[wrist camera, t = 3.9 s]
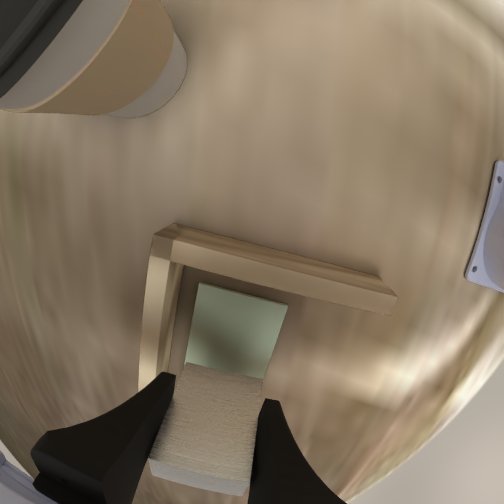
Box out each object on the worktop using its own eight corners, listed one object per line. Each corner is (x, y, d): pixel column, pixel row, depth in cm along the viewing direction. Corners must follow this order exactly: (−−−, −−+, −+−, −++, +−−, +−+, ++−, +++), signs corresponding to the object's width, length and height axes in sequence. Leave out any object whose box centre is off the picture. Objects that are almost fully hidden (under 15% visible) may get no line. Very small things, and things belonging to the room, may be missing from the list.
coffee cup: (98, 27, 15) (-40, -50, 1) (212, 13, 15) (128, -150, 1) (77, 137, 18) (-108, 135, 3) (194, 135, 17) (-4, 68, 3)
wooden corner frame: (173, 223, 19) (153, 234, 16) (379, 276, 19) (398, 297, 16) (153, 377, 22) (138, 403, 19) (316, 415, 22) (319, 445, 19)
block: (186, 361, 15) (148, 458, 9) (262, 378, 14) (249, 482, 9) (183, 429, 17) (159, 502, 12) (241, 442, 17) (228, 518, 12)
